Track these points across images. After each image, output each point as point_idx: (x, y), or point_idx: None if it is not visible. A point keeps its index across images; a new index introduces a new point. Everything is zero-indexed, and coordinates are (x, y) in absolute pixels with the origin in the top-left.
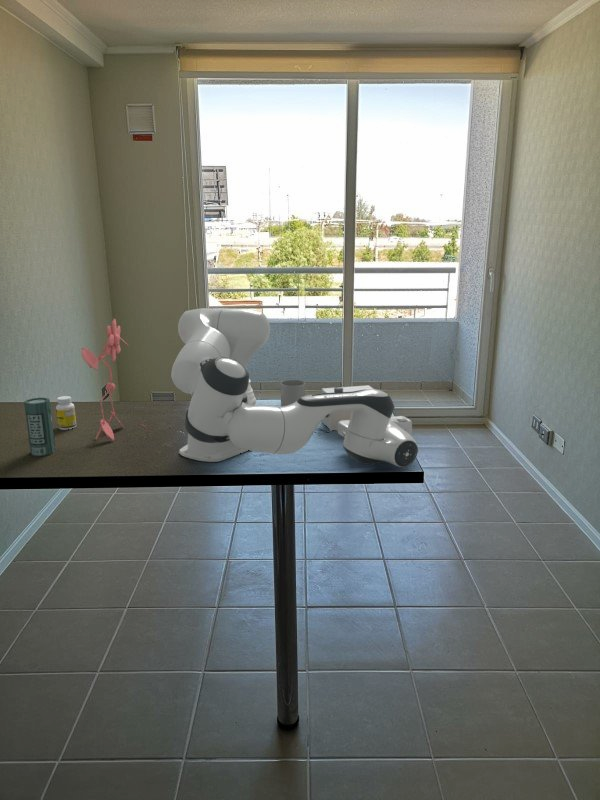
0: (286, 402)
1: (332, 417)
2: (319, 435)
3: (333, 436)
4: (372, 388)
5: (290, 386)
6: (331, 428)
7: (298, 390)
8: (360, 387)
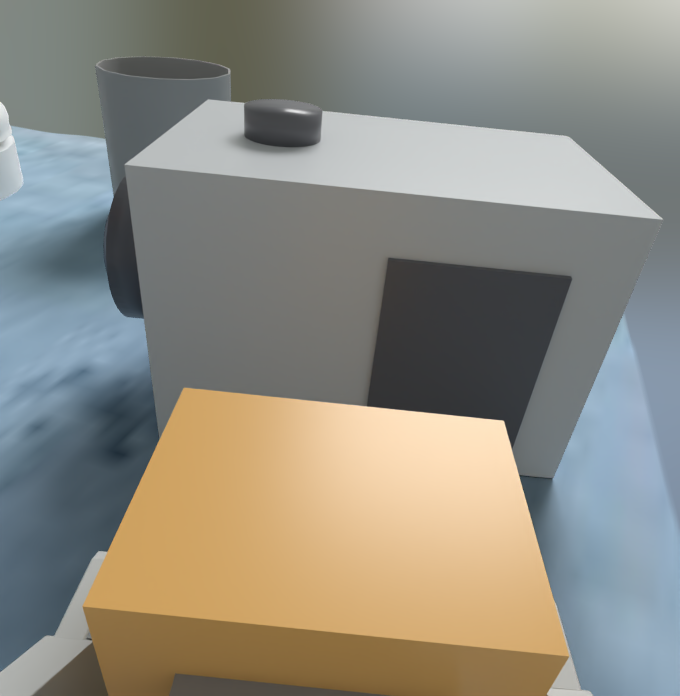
0: (114, 166)
1: (161, 352)
2: (7, 485)
3: (90, 540)
4: (591, 161)
5: (116, 76)
6: (162, 425)
7: (161, 108)
8: (496, 138)
